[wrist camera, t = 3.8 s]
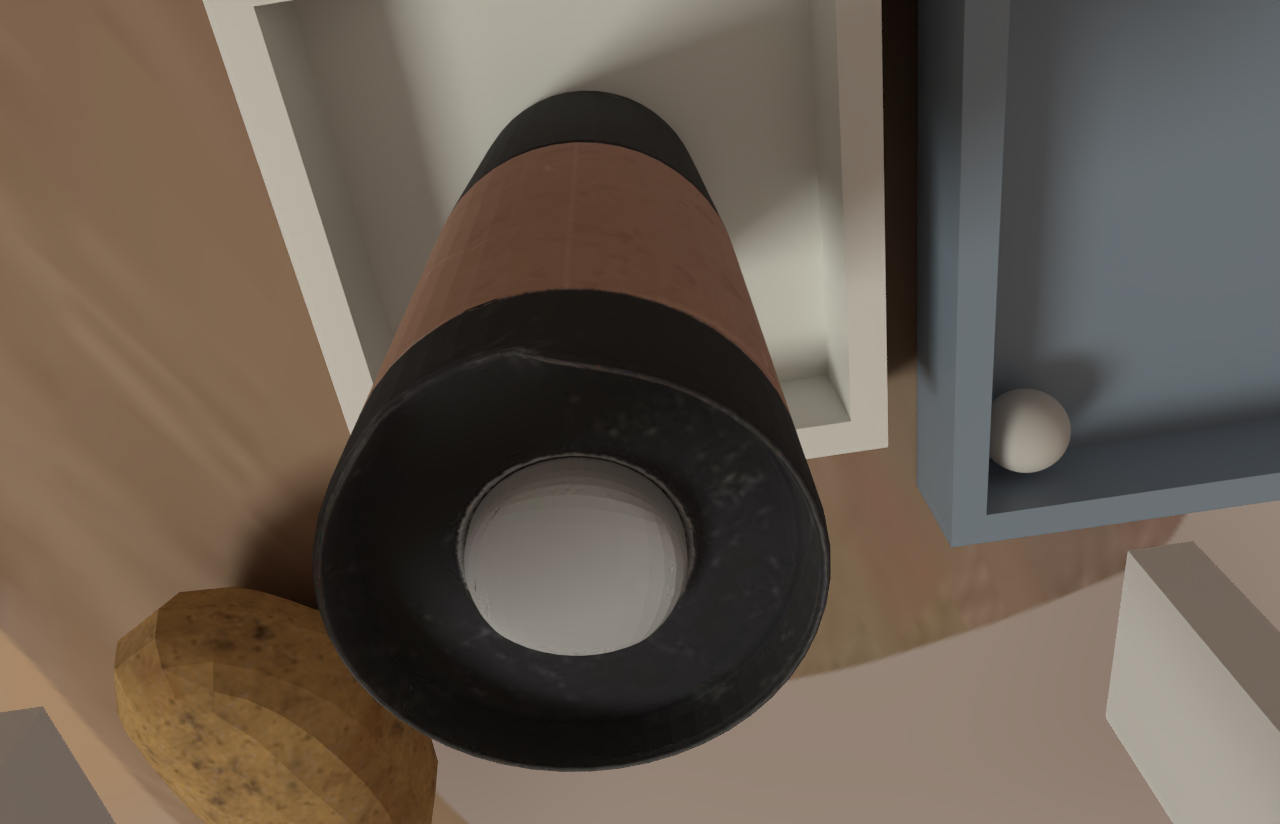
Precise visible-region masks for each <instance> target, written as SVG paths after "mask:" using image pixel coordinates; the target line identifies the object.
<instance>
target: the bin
mask: <svg viewBox="0 0 1280 824" xmlns="http://www.w3.org/2000/svg"><path fill="white" fill-rule="evenodd" d="M1016 389H1035V390H1038V391H1042V392H1044V393H1046V394H1048V395H1050V396H1052V397H1053V398H1055V399H1056V400H1057V401H1058V402H1059V403H1060V404H1061V405H1062V407H1063V408H1064V409H1065V411H1066V413H1067V415H1068V417H1069V420H1070V426H1071V437H1070V441H1069V445H1068V447H1067V449H1066V451H1065V453H1064V454H1063V455H1062V457H1061V458H1060V459H1059V460H1058V461H1057V462H1055V463H1054V464H1053V465H1051V466H1050V467H1048V468H1046V469H1043V470H1041V471H1037V472H1031V473H1020V472H1015V471H1011V470H1008V469H1006V468H1004V467H1002V466H1000V465H999V464H997V463H996V462H995V461H994V460H992V458H991V457H990V456H989V448H990V427H991V405H992V401H993V400H995V399H996V398H997V397H998V396H1000V395H1002V394H1004V393H1006V392H1008V391H1012V390H1016ZM917 487H918V489H919V490H920V492H921V494H922V496H923V498H924V499H925V501H926V503H927V505H928V507H929V508H930V510H931V512H932V514H933V515H934V517H935V519H936V521H937V523H938V524H939V526H940V528H941V530H942V531H943V533H944V535H945V537H946V539H947V540H948V542H949V544H950V546H951V547H958V546H965V545H972V544H979V543H986V542H992V541H999V540H1006V539H1013V538H1020V537H1027V536H1034V535H1041V534H1048V533H1055V532H1062V531H1069V530H1076V529H1083V528H1089V527H1096V526H1103V525H1110V524H1117V523H1124V522H1131V521H1138V520H1145V519H1152V518H1159V517H1166V516H1173V515H1180V514H1187V513H1193V512H1200V511H1207V510H1214V509H1221V508H1227V507H1235V506H1242V505H1248V504H1255V503H1262V502H1269V501H1276V500H1280V0H918V126H917Z"/></svg>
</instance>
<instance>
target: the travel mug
mask: <svg viewBox="0 0 1280 824" xmlns="http://www.w3.org/2000/svg"><path fill="white" fill-rule="evenodd" d="M313 582H314V588H315V594H316V599H317V605H318V609H319V612H320V614H321V617H322V620H323V623H324V626H325V629H326V632H327V634H328V636H329V638H330V640H331V642H332V644H333V646H334V648H335V649H336V651H337V653H338V655H339V657H340V659H341V660H342V661H343V663H344V664H345V665H346V667H347V668H348V670H349V671H350V672H351V674H352V675H353V676H354V678H355V679H356V680H357V681H358V682H359V684H360V685H361V686H362V687H363V688H364V689H365V690H366V691H367V692H368V693H369V694H370V695H371V696H372V697H373V698H374V699H375V700H376V701H377V702H378V703H380V704H381V705H382V706H383V707H384V708H386V709H387V710H388V711H389V712H390V713H392V714H393V715H394V716H395V717H397V718H398V719H400V720H401V721H403V722H404V723H406V724H407V725H409V726H411V727H412V728H414V729H415V730H417V731H418V732H420V733H422V734H424V735H426V736H428V737H430V738H432V739H434V740H436V741H438V742H440V743H442V744H444V745H446V746H448V747H451V748H453V749H456V750H458V751H461V752H464V753H466V754H469V755H472V756H474V757H478V758H481V759H485V760H489V761H492V762H496V763H500V764H504V765H510V766H516V767H521V768H527V769H534V770H548V771H559V772H568V771H569V772H571V771H572V772H574V771H598V770H609V769H618V768H624V767H630V766H635V765H640V764H645V763H650V762H653V761H657V760H660V759H663V758H667V757H670V756H674V755H677V754H679V753H681V752H684V751H687V750H689V749H692V748H694V747H696V746H699V745H702V744H704V743H706V742H708V741H710V740H712V739H713V738H715V737H717V736H719V735H721V734H723V733H725V732H727V731H729V730H730V729H732V728H733V727H734V726H736V725H737V724H739V723H740V722H742V721H743V720H745V719H746V718H748V717H749V716H751V715H752V714H753V713H754V712H756V711H757V710H758V709H759V708H760V707H761V706H762V705H764V704H765V703H766V702H767V701H768V700H770V699H771V698H772V697H773V696H774V695H775V693H776V692H777V691H778V690H779V689H780V688H781V687H782V686H783V685H784V684H785V683H786V681H787V680H788V679H789V678H790V677H791V676H792V674H793V673H794V671H795V670H796V668H797V667H798V665H799V664H800V663H801V661H802V660H803V658H804V657H805V655H806V653H807V651H808V649H809V647H810V645H811V643H812V641H813V639H814V637H815V635H816V633H817V631H818V628H819V625H820V622H821V619H822V616H823V613H824V609H825V606H826V603H827V596H828V590H829V584H830V543H829V537H828V532H827V526H826V520H825V515H824V511H823V507H822V504H821V501H820V498H819V496H818V493H817V490H816V487H815V484H814V481H813V478H812V475H811V472H810V469H809V467H808V464H807V461H806V458H805V455H804V452H803V449H802V446H801V443H800V441H799V438H798V435H797V432H796V429H795V426H794V423H793V420H792V417H791V414H790V411H789V409H788V406H787V403H786V400H785V397H784V394H783V391H782V388H781V385H780V382H779V379H778V377H777V374H776V371H775V368H774V365H773V362H772V359H771V356H770V353H769V350H768V347H767V344H766V342H765V339H764V336H763V333H762V330H761V327H760V324H759V321H758V318H757V315H756V312H755V310H754V307H753V304H752V301H751V298H750V295H749V292H748V289H747V286H746V283H745V280H744V278H743V275H742V272H741V269H740V266H739V263H738V260H737V257H736V254H735V251H734V248H733V246H732V243H731V240H730V237H729V235H728V233H727V230H726V228H725V226H724V224H723V222H722V220H721V218H720V216H719V213H718V211H717V209H716V207H715V205H714V203H713V201H712V199H711V197H710V195H709V193H708V191H707V189H706V187H705V185H704V183H703V181H702V179H701V176H700V174H699V172H698V170H697V168H696V166H695V164H694V162H693V160H692V158H691V156H690V154H689V152H688V151H687V149H686V147H685V145H684V144H683V142H682V141H681V139H680V138H679V137H678V135H677V134H676V132H675V131H674V130H673V129H672V128H671V127H670V126H669V125H668V124H667V123H666V122H665V121H664V120H663V119H662V118H661V117H659V116H658V115H657V114H656V113H655V112H653V111H652V110H650V109H648V108H647V107H645V106H644V105H642V104H640V103H638V102H636V101H634V100H631V99H629V98H627V97H623V96H620V95H617V94H613V93H608V92H601V91H574V92H566V93H562V94H559V95H555V96H551V97H549V98H546V99H544V100H542V101H539V102H537V103H535V104H534V105H532V106H530V107H528V108H527V109H525V110H524V111H522V112H521V113H520V114H519V115H517V116H516V117H515V118H513V119H512V120H511V121H510V123H509V124H508V125H507V126H506V127H505V128H504V129H503V130H502V131H501V133H500V134H499V135H498V137H497V138H496V139H495V141H494V142H493V144H492V145H491V147H490V148H489V150H488V151H487V153H486V155H485V156H484V158H483V160H482V161H481V163H480V165H479V166H478V168H477V170H476V171H475V173H474V175H473V176H472V178H471V180H470V181H469V183H468V185H467V186H466V188H465V190H464V191H463V193H462V195H461V196H460V198H459V200H458V201H457V203H456V205H455V206H454V208H453V210H452V212H451V213H450V215H449V217H448V219H447V221H446V223H445V225H444V227H443V228H442V230H441V232H440V235H439V237H438V239H437V242H436V244H435V246H434V248H433V251H432V253H431V255H430V257H429V260H428V262H427V264H426V266H425V269H424V271H423V273H422V275H421V278H420V280H419V282H418V284H417V287H416V289H415V291H414V293H413V296H412V298H411V300H410V302H409V305H408V307H407V309H406V311H405V314H404V316H403V318H402V320H401V323H400V325H399V327H398V329H397V332H396V334H395V336H394V338H393V341H392V343H391V345H390V348H389V350H388V352H387V354H386V357H385V359H384V361H383V363H382V366H381V368H380V370H379V372H378V375H377V377H376V379H375V381H374V384H373V386H372V388H371V390H370V393H369V395H368V397H367V399H366V402H365V404H364V406H363V408H362V411H361V413H360V415H359V417H358V420H357V422H356V424H355V426H354V429H353V431H352V433H351V435H350V438H349V440H348V442H347V444H346V446H345V449H344V451H343V453H342V455H341V458H340V460H339V462H338V464H337V467H336V469H335V471H334V473H333V476H332V478H331V480H330V483H329V485H328V488H327V491H326V494H325V497H324V500H323V503H322V506H321V509H320V512H319V516H318V520H317V526H316V532H315V538H314V545H313Z"/></svg>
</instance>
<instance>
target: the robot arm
mask: <svg viewBox="0 0 1280 824" xmlns="http://www.w3.org/2000/svg"><path fill="white" fill-rule="evenodd" d="M1106 719H1107V721H1108V722H1109V724H1110V725H1111V727H1112V728H1113V730H1114V732H1115V733H1116V735H1117V736H1118V738H1119V739H1120V741H1121V743H1122V744H1123V746H1124V747H1125V749H1126V750H1127V752H1128V754H1129V755H1130V757H1131V758H1132V760H1133V761H1134V763H1135V765H1136V766H1137V768H1138V769H1139V771H1140V772H1141V774H1142V775H1143V777H1144V779H1145V780H1146V782H1147V783H1148V785H1149V786H1150V788H1151V790H1152V791H1153V793H1154V794H1155V796H1156V797H1157V799H1158V801H1159V802H1160V804H1161V805H1162V807H1163V809H1164V810H1165V812H1166V813H1167V815H1168V816H1169V818H1170V819H1171V821H1172V823H1173V824H1280V632H1279V631H1278V630H1277V629H1276V628H1275V627H1274V626H1273V625H1272V624H1271V623H1270V622H1269V621H1268V619H1267V618H1266V617H1265V616H1264V615H1263V614H1262V613H1261V612H1260V611H1259V610H1258V609H1257V608H1256V607H1255V606H1254V605H1253V604H1252V603H1251V602H1250V601H1249V599H1248V598H1247V597H1246V596H1245V595H1244V594H1243V593H1242V592H1241V591H1240V590H1239V589H1238V588H1237V587H1236V586H1235V585H1234V584H1233V583H1232V582H1231V581H1230V579H1229V578H1228V577H1227V576H1226V575H1225V574H1224V573H1223V572H1222V571H1221V570H1220V569H1219V568H1218V567H1217V566H1216V565H1215V564H1214V563H1213V562H1212V561H1211V559H1210V558H1209V557H1208V556H1207V555H1206V554H1205V553H1204V552H1203V551H1202V550H1201V549H1200V548H1199V547H1198V546H1197V545H1196V544H1195V543H1194V542H1193V541H1191V542H1185V543H1178V544H1171V545H1164V546H1157V547H1150V548H1143V549H1136V550H1129V551H1128V554H1127V561H1126V568H1125V576H1124V583H1123V591H1122V599H1121V606H1120V613H1119V620H1118V628H1117V635H1116V643H1115V650H1114V657H1113V665H1112V673H1111V680H1110V687H1109V695H1108V702H1107V709H1106ZM0 824H116V823H115V822H114V820H113V819H112V817H111V815H110V814H109V812H108V811H107V809H106V807H105V806H104V804H103V803H102V801H101V799H100V798H99V796H98V795H97V793H96V791H95V790H94V788H93V786H92V785H91V783H90V782H89V780H88V778H87V777H86V775H85V774H84V772H83V770H82V769H81V767H80V766H79V764H78V762H77V761H76V759H75V758H74V756H73V754H72V753H71V751H70V750H69V748H68V746H67V745H66V743H65V741H64V740H63V738H62V737H61V735H60V734H59V732H58V730H57V729H56V727H55V726H54V724H53V722H52V721H51V719H50V717H49V716H48V714H47V713H46V711H45V709H44V708H43V707H36V708H29V709H22V710H15V711H8V712H2V713H0Z"/></svg>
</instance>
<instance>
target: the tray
mask: <svg viewBox="0 0 1280 824" xmlns="http://www.w3.org/2000/svg"><path fill="white" fill-rule="evenodd" d="M203 3H204V6H205V9H206V11H207V14H208V17H209V20H210V23H211V26H212V29H213V32H214V35H215V38H216V41H217V44H218V47H219V50H220V53H221V56H222V59H223V61H224V64H225V67H226V70H227V73H228V76H229V79H230V82H231V85H232V88H233V91H234V94H235V97H236V100H237V103H238V106H239V108H240V111H241V114H242V117H243V120H244V123H245V126H246V129H247V132H248V135H249V138H250V141H251V144H252V147H253V150H254V153H255V156H256V158H257V161H258V164H259V167H260V170H261V173H262V176H263V179H264V182H265V185H266V188H267V191H268V194H269V197H270V200H271V203H272V205H273V208H274V211H275V214H276V217H277V220H278V223H279V226H280V229H281V232H282V235H283V238H284V241H285V244H286V247H287V250H288V253H289V255H290V258H291V261H292V264H293V267H294V270H295V273H296V276H297V279H298V282H299V285H300V288H301V291H302V294H303V297H304V300H305V302H306V305H307V308H308V311H309V314H310V317H311V320H312V323H313V326H314V329H315V332H316V335H317V338H318V341H319V344H320V347H321V350H322V352H323V355H324V358H325V361H326V364H327V367H328V370H329V373H330V376H331V379H332V382H333V385H334V388H335V391H336V394H337V397H338V399H339V402H340V405H341V408H342V411H343V414H344V417H345V420H346V423H347V426H348V429H349V432H350V435H351V433H352V431H353V429H354V426H355V424H356V422H357V420H358V417H359V415H360V413H361V411H362V408H363V406H364V404H365V402H366V399H367V397H368V395H369V393H370V390H371V388H372V386H373V384H374V381H375V379H376V377H377V375H378V372H379V370H380V368H381V366H382V363H383V361H384V359H385V357H386V354H387V352H388V350H389V348H390V345H391V343H392V341H393V338H394V336H395V334H396V332H397V329H398V327H399V325H400V323H401V320H402V318H403V316H404V314H405V311H406V309H407V307H408V305H409V302H410V300H411V298H412V296H413V293H414V291H415V289H416V287H417V284H418V282H419V280H420V278H421V275H422V273H423V271H424V269H425V266H426V264H427V262H428V260H429V257H430V255H431V253H432V251H433V248H434V246H435V244H436V242H437V239H438V237H439V235H440V232H441V230H442V228H443V227H444V225H445V223H446V221H447V219H448V217H449V215H450V213H451V212H452V210H453V208H454V206H455V205H456V203H457V201H458V200H459V198H460V196H461V195H462V193H463V191H464V190H465V188H466V186H467V185H468V183H469V181H470V180H471V178H472V176H473V175H474V173H475V171H476V170H477V168H478V166H479V165H480V163H481V161H482V160H483V158H484V156H485V155H486V153H487V151H488V150H489V148H490V147H491V145H492V144H493V142H494V141H495V139H496V138H497V137H498V135H499V134H500V133H501V131H502V130H503V129H504V128H505V127H506V126H507V125H508V124H509V123H510V121H511V120H512V119H513V118H515V117H516V116H517V115H519V114H520V113H521V112H522V111H524V110H525V109H527V108H528V107H530V106H532V105H534V104H535V103H537V102H539V101H542V100H544V99H546V98H549V97H551V96H555V95H559V94H562V93H566V92H574V91H601V92H608V93H613V94H617V95H620V96H623V97H627V98H629V99H631V100H634V101H636V102H638V103H640V104H642V105H644V106H645V107H647V108H648V109H650V110H652V111H653V112H655V113H656V114H657V115H658V116H659V117H661V118H662V119H663V120H664V121H665V122H666V123H667V124H668V125H669V126H670V127H671V128H672V129H673V130H674V131H675V132H676V134H677V135H678V137H679V138H680V139H681V141H682V142H683V144H684V145H685V147H686V149H687V151H688V152H689V154H690V156H691V158H692V160H693V162H694V164H695V166H696V168H697V170H698V172H699V174H700V176H701V179H702V181H703V183H704V185H705V187H706V189H707V191H708V193H709V195H710V197H711V199H712V201H713V203H714V205H715V207H716V209H717V211H718V213H719V216H720V218H721V220H722V222H723V224H724V226H725V228H726V230H727V233H728V235H729V237H730V240H731V243H732V246H733V248H734V251H735V254H736V257H737V260H738V263H739V266H740V269H741V272H742V275H743V278H744V280H745V283H746V286H747V289H748V292H749V295H750V298H751V301H752V304H753V307H754V310H755V312H756V315H757V318H758V321H759V324H760V327H761V330H762V333H763V336H764V339H765V342H766V344H767V347H768V350H769V353H770V356H771V359H772V362H773V365H774V368H775V371H776V374H777V377H778V379H779V382H780V385H781V388H782V391H783V394H784V397H785V400H786V403H787V406H788V409H789V411H790V414H791V417H792V420H793V423H794V426H795V429H796V432H797V435H798V438H799V441H800V443H801V446H802V449H803V452H804V455H805V458H806V459H810V458H817V457H824V456H830V455H837V454H844V453H851V452H858V451H864V450H871V449H878V448H885V447H888V402H887V337H886V272H885V207H884V141H883V76H882V11H881V0H203Z"/></svg>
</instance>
